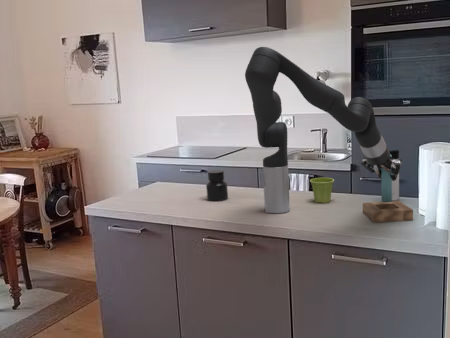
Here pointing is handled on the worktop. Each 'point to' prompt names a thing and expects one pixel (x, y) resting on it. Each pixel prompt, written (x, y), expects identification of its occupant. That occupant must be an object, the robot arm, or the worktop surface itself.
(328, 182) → the plant pot
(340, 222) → the worktop surface
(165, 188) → the worktop surface
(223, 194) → the ink bottle
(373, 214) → the socket block
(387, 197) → the dowel
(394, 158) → the travel mug
